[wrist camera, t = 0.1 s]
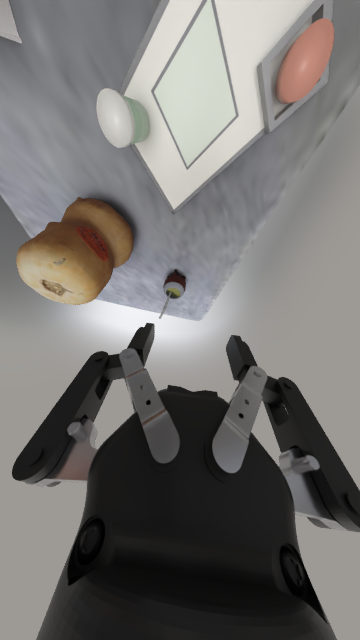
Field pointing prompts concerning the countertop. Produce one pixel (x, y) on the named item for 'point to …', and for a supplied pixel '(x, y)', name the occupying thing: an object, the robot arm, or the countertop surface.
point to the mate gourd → (174, 287)
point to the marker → (121, 118)
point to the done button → (305, 62)
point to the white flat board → (212, 84)
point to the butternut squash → (76, 253)
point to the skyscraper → (8, 22)
